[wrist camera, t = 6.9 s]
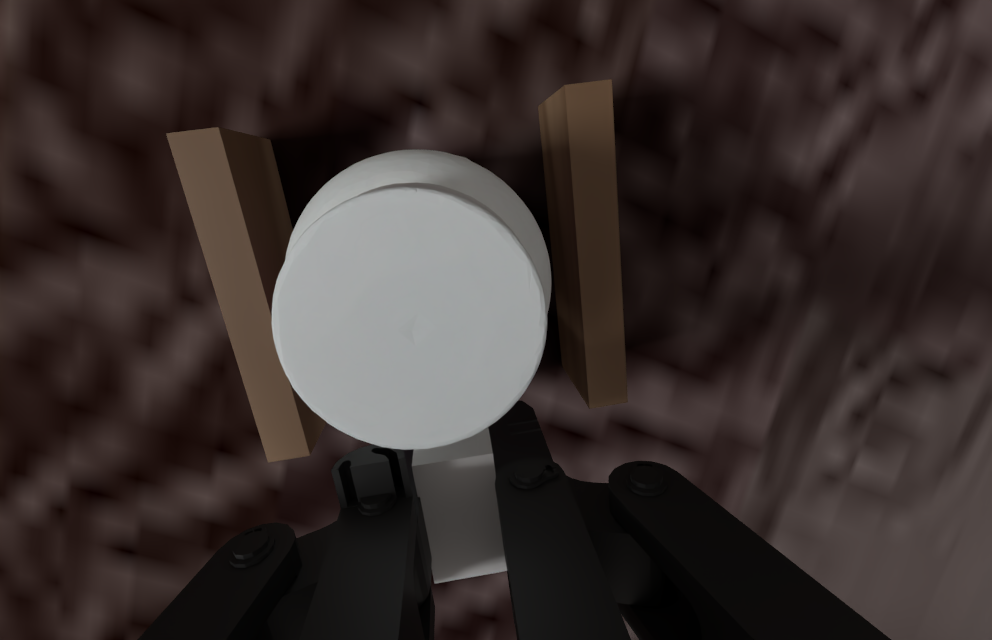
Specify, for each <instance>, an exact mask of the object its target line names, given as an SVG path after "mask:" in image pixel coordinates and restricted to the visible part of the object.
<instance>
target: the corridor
mask: <svg viewBox="0 0 992 640" xmlns="http://www.w3.org/2000/svg"><path fill="white" fill-rule="evenodd" d="M538 112H539V122H540V133H541V144H542V155H543V166H544V176H545V187H546V198H547V209H548V220H549V231H550V241H551V252H552V263H553V274H554V285H555V295H556V306H557V317H558V328H559V339H560V350H561V360H562V367H563V368H564V370H565V371H566V373H567V374H568V376H569V377H570V379H571V381H572V382H573V384H574V385H575V387H576V388H577V390H578V392H579V393H580V395H581V396H582V398H583V399H584V401H585V402H586V404H587V406H588V407H589V409H590V408H596V407H602V406H608V405H614V404H620V403H626V402H628V399H627V378H626V358H625V338H624V318H623V297H622V277H621V257H620V237H619V216H618V196H617V176H616V156H615V135H614V115H613V95H612V79H611V80H603V81H594V82H586V83H578V84H570V85H564V86H563V87H562V88H561V89H559V90H558V91H557V92H556V93H554V94H553V95H552V96H551V97H549V98H548V99H547V100H545V101H544V102H543V103H542V104H540V105H539V106H538ZM166 135H167V138H168V141H169V144H170V148H171V151H172V154H173V157H174V160H175V164H176V167H177V170H178V173H179V177H180V180H181V183H182V186H183V189H184V193H185V196H186V199H187V202H188V205H189V209H190V212H191V215H192V218H193V222H194V225H195V228H196V231H197V234H198V238H199V241H200V244H201V247H202V251H203V254H204V257H205V260H206V263H207V267H208V270H209V273H210V276H211V280H212V283H213V286H214V289H215V292H216V296H217V299H218V302H219V305H220V309H221V312H222V315H223V318H224V321H225V325H226V328H227V331H228V334H229V338H230V341H231V344H232V347H233V350H234V354H235V357H236V360H237V363H238V366H239V370H240V373H241V376H242V379H243V383H244V386H245V389H246V392H247V395H248V399H249V402H250V405H251V408H252V412H253V415H254V418H255V421H256V424H257V428H258V431H259V434H260V437H261V441H262V444H263V447H264V450H265V453H266V457H267V460H268V462H274V461H280V460H286V459H292V458H298V457H304V456H310V454H311V452H312V450H313V448H314V446H315V444H316V442H317V440H318V438H319V436H320V434H321V432H322V430H323V428H324V426H325V424H326V421H325V420H324V419H322V418H321V417H320V416H319V415H317V414H316V413H315V412H314V411H312V410H311V408H310V407H309V406H308V405H307V404H306V403H305V402H304V401H303V400H302V399H301V397H300V396H299V395H298V394H297V392H296V391H295V390H294V389H293V387H292V385H291V383H290V381H289V379H288V377H287V376H286V374H285V372H284V369H283V367H282V365H281V363H280V360H279V357H278V354H277V350H276V347H275V343H274V339H273V332H272V302H273V293H274V289H275V285H276V281H277V278H278V275H279V273H280V271H281V269H282V267H283V264H284V262H285V258H286V252H287V248H288V244H289V241H290V237H291V234H292V232H293V228H292V224H291V220H290V216H289V212H288V208H287V204H286V200H285V196H284V192H283V188H282V184H281V180H280V176H279V172H278V168H277V164H276V160H275V157H274V153H273V149H272V145H271V141H270V139H265V138H261V137H257V136H253V135H249V134H245V133H240V132H236V131H232V130H228V129H224V128H220V127H216V128H208V129H200V130H191V131H183V132H175V133H167V134H166Z"/></svg>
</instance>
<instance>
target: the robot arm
mask: <svg viewBox="0 0 992 640" xmlns="http://www.w3.org/2000/svg"><path fill="white" fill-rule="evenodd" d="M331 471H332V475H333V479H334V483H335V487H336V491H337V495H338V499H339V503H340V507H341V510H340V513H339V517H338V520H337V521H335V522H334V523H332V524H331V525H328V526H326V527H324V528H322V529H320V530H317V531H314V532H312V533H309V534H307V535H304V536H301V537H299V538H296V536H295V533H294V530H293V529H291V528H290V527H289V526H288V525H286V524H281V523H270V524H262V525H259V526H256V527H254V528H250V529H248V530H246V531H244V532H242V533H241V534H239V535H237V536H235V537H234V538H232V539H231V540H229V541H228V542H227V543H226V544H225V545H224V546H223V547H221V548H220V549H219V550H218V551H217V552H216V553H215V554H214V556H213V557H212V558H211V559H210V560H209V561H208V562H207V563H206V564H205V566H204V567H203V568H202V569H201V570H200V571H199V572H198V573H197V574H196V576H195V577H194V578H193V579H192V580H191V581H190V582H189V583H188V584H187V586H186V587H185V588H184V589H183V590H182V591H181V592H180V593H179V594H178V596H177V597H176V598H175V599H174V600H173V601H172V602H171V603H170V604H169V606H168V607H167V608H166V609H165V610H164V611H163V612H162V613H161V614H160V616H159V617H158V618H157V619H156V620H155V621H154V622H153V623H152V624H151V626H150V627H149V628H148V629H147V630H146V631H145V632H144V633H143V634H142V636H141V637H140V638H139V639H138V640H434V621H435V605H434V600H433V595H432V590H431V568H432V573H433V578H434V583H440V582H446V581H452V580H457V579H463V578H469V577H475V576H480V575H486V574H492V573H497V572H503V571H507V573H508V581H509V588H510V595H511V602H512V610H513V617H514V624H515V628H516V635H517V640H631V639H630V636H629V634H628V631H627V629H626V626H625V624H624V621H623V618H622V616H623V617H624V619H625V620H626V621H627V623H628V624H629V626H630V627H631V628H632V630H633V631H634V633H635V634H636V636H637V637H638V638H639V640H891V639H890V638H888V637H887V636H886V635H885V634H883V633H882V632H881V631H879V630H878V629H877V628H876V627H874V626H873V625H872V624H871V623H869V622H868V621H867V620H865V619H864V618H863V617H862V616H860V615H859V614H858V613H857V612H855V611H854V610H853V609H851V608H850V607H849V606H848V605H846V604H845V603H844V602H843V601H841V600H840V599H839V598H837V597H836V596H835V595H834V594H832V593H831V592H830V591H829V590H827V589H826V588H825V587H823V586H822V585H821V584H820V583H818V582H817V581H816V580H815V579H813V578H812V577H811V576H809V575H808V574H807V573H806V572H804V571H803V570H802V569H801V568H799V567H798V566H797V565H795V564H794V563H793V562H792V561H790V560H789V559H788V558H787V557H785V556H784V555H783V554H781V553H780V552H779V551H778V550H776V549H775V548H774V547H773V546H771V545H770V544H769V543H767V542H766V541H765V540H764V539H762V538H761V537H760V536H759V535H757V534H756V533H755V532H753V531H752V530H751V529H750V528H748V527H747V526H746V525H745V524H743V523H742V522H741V521H739V520H738V519H737V518H736V517H734V516H733V515H732V514H730V513H729V512H728V511H727V510H725V509H724V508H723V507H722V506H720V505H719V504H718V503H716V502H715V501H714V500H713V499H711V498H710V497H709V496H708V495H706V494H705V493H704V492H702V491H701V490H700V489H699V488H697V487H696V486H695V485H694V484H692V483H691V482H690V481H688V480H687V479H686V478H685V477H683V476H682V475H681V474H680V473H678V472H677V471H675V470H673V469H672V468H670V467H668V466H666V465H663V464H659V463H656V462H651V461H635V462H629V463H624V464H623V465H621V466H619V467H617V468H615V469H614V470H613V471H612V473H611V474H610V475H609V483H592V482H584V481H579V480H576V479H572V478H570V477H568V476H566V475H565V473H564V471H563V470H562V468H561V467H560V466H559V464H557V463H555V462H553V460H552V457H551V454H550V452H549V449H548V446H547V444H546V441H545V439H544V436H543V433H542V431H541V428H540V425H539V423H538V421H537V417H536V415H535V412H534V410H533V408H532V407H530V406H529V405H527V404H526V403H525V402H523V401H517V402H516V404H515V405H514V406H513V407H512V408H511V409H510V410H509V411H508V412H507V413H506V414H505V415H504V416H502V417H501V418H500V419H499V420H498V421H496V422H495V423H494V424H492V425H490V426H489V427H487V428H486V429H484V430H483V431H481V432H480V433H478V434H476V435H474V436H472V437H469V438H466V439H463V440H461V441H458V442H455V443H452V444H449V445H445V446H441V447H435V448H429V449H408V450H402V449H392V448H387V447H381V446H377V445H374V444H373V445H370V446H366V447H362V448H359V449H357V450H355V451H353V452H351V453H348V454H347V455H345V456H344V457H343V458H341V459H340V460H339V461H337V463H336V464H335V465H334V467H333V468H332V470H331ZM621 614H622V616H621Z"/></svg>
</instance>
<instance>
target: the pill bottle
mask: <svg viewBox="0 0 992 640" xmlns="http://www.w3.org/2000/svg"><path fill="white" fill-rule="evenodd" d="M550 297H551V268H550V261H549V256H548V251H547V248H546V245H545V241H544V238H543V235H542V233H541V230H540V228H539V226H538V224H537V222H536V220H535V218H534V216H533V215H532V213H531V212H530V210H529V209H528V208H527V206H526V205H525V203H524V202H523V201H522V200H521V199H520V198H519V196H518V195H517V194H516V193H515V192H514V191H513V190H512V189H511V188H510V187H509V186H508V185H507V184H506V183H505V182H504V181H503V180H502V179H500V178H499V177H497V176H496V175H494V174H493V173H492V172H491V171H489V170H487V169H485V168H483V167H482V166H480V165H478V164H476V163H473V162H472V161H470V160H469V159H467V158H465V157H461V156H457V155H453V154H450V153H447V152H440V151H435V150H417V149H415V150H399V151H392V152H387V153H383V154H380V155H376V156H372V157H370V158H367V159H364V160H362V161H360V162H357V163H355V164H353V165H352V166H350V167H348V168H347V169H345V170H343V171H342V172H340V173H339V174H337V175H336V176H335V177H333V178H332V179H331V180H330V181H328V182H327V183H326V184H325V185H324V186H323V187H322V188H321V189H320V190H319V191H318V192H317V193H316V194H315V195H314V197H313V198H312V199H311V200H310V202H309V203H308V204H307V206H306V207H305V209H304V211H303V212H302V214H301V216H300V217H299V219H298V221H297V223H296V226H295V228H294V230H293V232H292V234H291V237H290V241H289V244H288V248H287V252H286V258H285V262H284V264H283V267H282V269H281V271H280V273H279V275H278V278H277V281H276V285H275V289H274V293H273V302H272V332H273V339H274V343H275V347H276V350H277V354H278V357H279V360H280V363H281V365H282V367H283V369H284V372H285V374H286V376H287V377H288V379H289V381H290V383H291V385H292V387H293V389H294V390H295V391H296V392H297V394H298V395H299V396H300V397H301V399H302V400H303V401H304V402H305V403H306V404H307V405H308V406H309V407H310V408H311V410H312V411H314V412H315V413H316V414H317V415H319V416H320V417H321V418H322V419H324V420H325V421H326V422H327V423H329V424H330V425H332V426H333V427H335V428H336V429H338V430H340V431H342V432H344V433H346V434H348V435H350V436H352V437H354V438H356V439H359V440H362V441H365V442H368V443H371V444H374V445H377V446H381V447H387V448H392V449H402V450H408V449H429V448H435V447H441V446H445V445H449V444H452V443H455V442H458V441H461V440H463V439H466V438H469V437H472V436H474V435H476V434H478V433H480V432H481V431H483V430H484V429H486V428H487V427H489V426H490V425H492V424H494V423H495V422H496V421H498V420H499V419H500V418H501V417H502V416H504V415H505V414H506V413H507V412H508V411H509V410H510V409H511V408H512V407H513V406H514V405H515V404H516V402H517V401H518V400H519V399H520V397H521V396H522V395H523V393H524V392H525V390H526V389H527V387H528V385H529V384H530V382H531V380H532V379H533V377H534V375H535V373H536V371H537V369H538V367H539V364H540V361H541V358H542V355H543V351H544V347H545V342H546V335H547V314H548V309H549V304H550Z"/></svg>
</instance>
